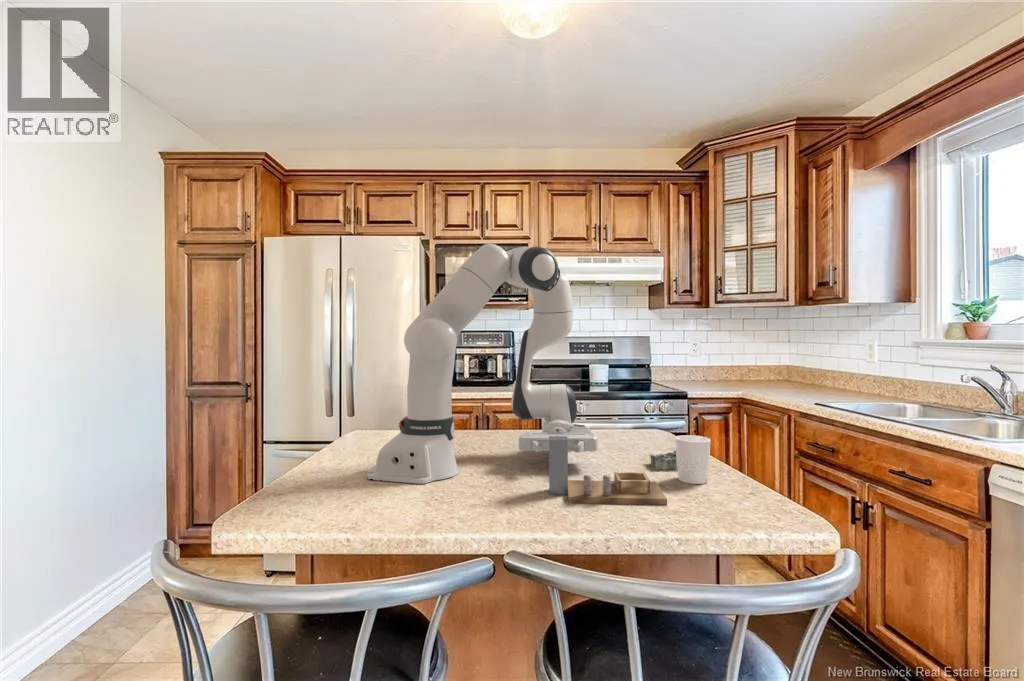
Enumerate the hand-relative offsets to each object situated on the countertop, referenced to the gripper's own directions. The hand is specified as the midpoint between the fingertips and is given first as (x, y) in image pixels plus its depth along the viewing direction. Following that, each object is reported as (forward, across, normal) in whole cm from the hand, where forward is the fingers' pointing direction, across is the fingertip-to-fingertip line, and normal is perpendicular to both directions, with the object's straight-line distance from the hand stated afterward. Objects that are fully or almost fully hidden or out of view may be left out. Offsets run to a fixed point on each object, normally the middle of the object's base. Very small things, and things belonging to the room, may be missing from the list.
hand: (558, 448), depth 124 cm
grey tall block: (+12, 0, +7) cm, 14 cm away
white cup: (+1, +32, +7) cm, 33 cm away
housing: (+13, +12, +7) cm, 19 cm away
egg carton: (-11, +30, +7) cm, 33 cm away
